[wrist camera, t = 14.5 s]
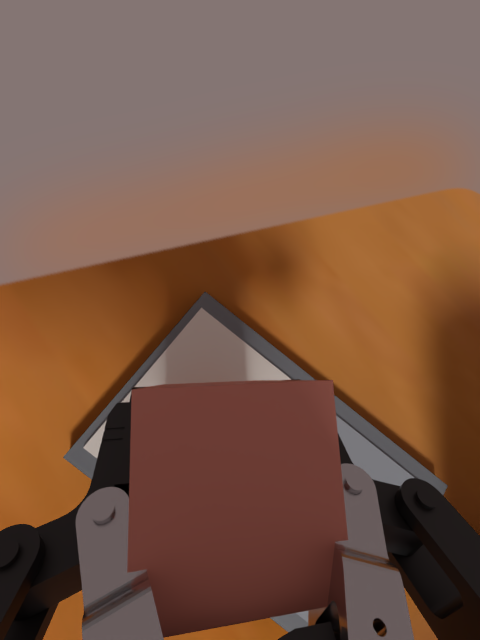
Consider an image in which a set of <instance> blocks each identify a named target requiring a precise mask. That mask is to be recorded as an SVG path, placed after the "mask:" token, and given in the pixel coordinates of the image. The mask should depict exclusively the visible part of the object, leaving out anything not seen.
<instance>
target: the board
mask: <svg viewBox="0 0 480 640" xmlns="http://www.w3.org/2000/svg"><path fill="white" fill-rule="evenodd" d="M295 379H300V380H315V379H314V378H313V377H311V376H310V375H309V374H308V373H306V372H305V371H304V370H303V369H301V368H300V367H299V366H298V365H296V364H295V363H294V362H293V361H291V360H290V359H289V358H288V357H286V356H285V355H284V354H283V353H281V352H280V351H279V350H278V349H276V348H275V347H274V346H273V345H271V344H270V343H269V342H268V341H266V340H265V339H264V338H263V337H261V336H260V335H259V334H258V333H256V332H255V331H254V330H253V329H251V328H250V327H249V326H248V325H246V324H245V323H244V322H243V321H241V320H240V319H239V318H238V317H236V316H235V315H234V314H233V313H231V312H230V311H229V310H228V309H226V308H225V307H224V306H223V305H221V304H220V303H219V302H218V301H216V300H215V299H214V298H213V297H211V296H210V295H209V294H208V293H206V292H204V293H203V295H202V296H201V297H200V298H199V299H198V300H197V302H196V303H195V304H194V305H193V306H192V307H191V309H190V310H189V311H188V312H187V313H186V314H185V316H184V317H183V318H182V319H181V320H180V321H179V323H178V324H177V325H176V326H175V327H174V328H173V330H172V331H171V332H170V333H169V334H168V335H167V337H166V338H165V339H164V340H163V341H162V342H161V344H160V345H159V346H158V347H157V348H156V349H155V351H154V352H153V353H152V354H151V355H150V356H149V358H148V359H147V360H146V361H145V362H144V363H143V365H142V366H141V367H140V368H139V369H138V370H137V372H136V373H135V374H134V375H133V376H132V377H131V379H130V380H129V381H128V382H127V383H126V384H125V386H124V387H123V388H122V389H121V390H120V392H119V393H118V394H117V395H116V396H115V397H114V399H113V400H112V401H111V402H110V403H109V404H108V406H107V407H106V408H105V409H104V410H103V411H102V413H101V414H100V415H99V416H98V417H97V418H96V420H95V421H94V422H93V423H92V424H91V425H90V427H89V428H88V429H87V430H86V431H85V432H84V434H83V435H82V436H81V437H80V438H79V439H78V441H77V442H76V443H75V444H74V445H73V446H72V448H71V449H70V450H69V451H68V452H67V453H66V455H65V456H64V457H63V458H65V459H66V460H67V461H69V462H70V463H71V464H72V465H74V466H75V467H76V468H78V469H79V470H80V471H81V472H83V473H84V474H85V475H87V476H88V477H89V478H90V479H92V477H93V473H94V469H95V465H96V461H97V457H98V453H99V449H100V445H101V443H102V437H103V433H104V431H105V425H106V421H107V417H108V414H109V413H110V411H111V410H112V409H113V407H114V406H115V405H116V403H122V402H130V396H131V391H132V388H133V387H149V386H156V385H162V384H185V383H207V382H230V381H252V380H295ZM334 399H335V410H336V420H337V430H338V434H339V436H340V438H341V440H342V442H343V444H344V446H345V448H346V451H347V453H348V455H349V457H350V459H351V461H352V463H353V464H354V465H356V466H358V467H360V468H361V469H363V470H364V471H365V472H366V473H367V474H368V475H369V476H370V477H371V478H372V479H374V480H377V481H380V482H385V483H389V484H393V485H397V486H401V485H402V484H403V482H404V481H406V480H407V479H410V478H417V479H421V480H424V481H426V482H428V483H429V484H431V485H432V486H434V487H435V488H436V489H437V490H438V491H439V492H440V493H441V494H442V495H444V493H445V490H446V488H447V485H446V484H445V483H444V482H442V481H441V480H440V479H439V478H437V477H436V476H435V475H434V474H432V473H431V472H430V471H429V470H427V469H426V468H425V467H424V466H422V465H421V464H420V463H419V462H417V461H416V460H415V459H414V458H412V457H411V456H410V455H409V454H407V453H406V452H405V451H404V450H402V449H401V448H400V447H399V446H397V445H396V444H395V443H394V442H392V441H391V440H390V439H389V438H387V437H386V436H385V435H384V434H382V433H381V432H380V431H379V430H377V429H376V428H375V427H374V426H372V425H371V424H370V423H369V422H367V421H366V420H365V419H364V418H362V417H361V416H360V415H359V414H357V413H356V412H355V411H354V410H352V409H351V408H350V407H349V406H347V405H346V404H345V403H344V402H342V401H341V400H340V399H339V398H337V397H336V396H335V395H334ZM271 619H272V620H274V621H275V622H276V623H277V624H279V625H280V626H281V627H283V628H284V629H285V630H286V631H288V632H290V631H292V630H293V629H296V628H301V627H306V626H308V611H303V612H298V613H292V614H287V615H282V616H276V617H271ZM375 632H376V631H375Z"/></svg>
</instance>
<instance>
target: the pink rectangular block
mask: <svg viewBox="0 0 480 640" xmlns="http://www.w3.org/2000/svg"><path fill="white" fill-rule="evenodd" d="M345 540H348V534H347V523H346V513H345V503H344V492H343V482H342V472H341V461H340V451H339V441H338V430H337V420H336V410H335V399H334V389H333V380H252V381H230V382H207V383H185V384H162V385H156V386H150V387H144V388H139V389H133V390H132V397H131V439H130V480H129V522H128V564H127V573H128V572H135V571H140V570H145V569H146V570H147V574H148V578H149V581H150V585H151V589H152V593H153V597H154V602H155V606H156V610H157V614H158V618H159V622H160V626H161V631H162V635H163V638H164V637H169V636H174V635H180V634H185V633H190V632H196V631H201V630H207V629H212V628H217V627H223V626H228V625H233V624H239V623H244V622H249V621H255V620H260V619H265V618H271V617H276V616H282V615H287V614H292V613H298V612H303V611H308V610H314V609H319V608H324V607H327V605H328V596H329V588H330V580H331V572H332V564H333V556H334V547H335V541H345Z"/></svg>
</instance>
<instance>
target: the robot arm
mask: <svg viewBox="0 0 480 640" xmlns="http://www.w3.org/2000/svg"><path fill="white" fill-rule="evenodd" d="M295 380H300V379H295ZM149 387H150V386H149ZM139 388H144V387H133V388H132V390H133V389H139ZM131 397H132V391H131V396H130V402H122V403H116V405H115V406H114V407H113V409H112V410H111V411H110V413H109V414H108V417H107V421H106V425H105V431H104V433H103V437H102V443H101V445H100V449H99V453H98V457H97V461H96V465H95V469H94V473H93V477H92V481H91V485H90V488H89V491H88V493H87V495H86V496H85V498H84V499H83V501H82V502H81V503H80V504H79V505H78V506H77V507H76V508H75V509H73V510H72V511H71V512H69V513H68V514H66V515H64V516H62V517H60V518H58V519H56V520H53V521H51V522H49V523H46V524H44V525H42V526H40V527H37V528H34V527H32V526H30V525H27V524H18V525H13V526H10V527H8V528H5V529H3V530H2V531H0V640H43V637H44V635H45V633H46V630H47V628H48V626H49V624H50V621H51V619H52V617H53V615H54V612H55V610H56V608H57V605H58V603H59V602H60V601H62V600H64V599H66V598H68V597H70V596H72V595H73V594H75V593H77V592H79V591H81V590H82V592H83V602H84V615H83V619H82V636H83V640H164V639H163V635H162V631H161V626H160V622H159V618H158V614H157V610H156V606H155V602H154V597H153V593H152V589H151V585H150V581H149V578H148V574H147V570H146V569H145V570H140V571H135V572H128V573H127V564H128V522H129V480H130V439H131ZM338 441H339V451H340V461H341V472H342V482H343V492H344V503H345V513H346V523H347V534H348V540H345V541H335V547H334V556H333V564H332V572H331V580H330V588H329V596H328V605H327V607H324V608H319V609H314V610H308V626H306V627H301V628H296V629H293V630H292V631H290V632H289V633H287V634H286V635H284V636H282V637H281V638H279V639H278V640H414V637H413V632H412V627H411V622H410V617H409V612H408V607H407V602H406V596H405V591H404V588H405V589H406V591H407V592H408V594H409V595H410V597H411V598H412V600H413V601H414V603H415V605H416V606H417V608H418V609H419V611H420V612H421V614H422V615H423V617H424V618H425V620H426V621H427V623H428V624H429V626H430V628H431V629H432V631H433V632H434V634H435V635H436V637H437V638H438V640H480V536H479V535H478V534H477V533H476V532H475V531H474V529H473V528H472V527H471V526H470V525H469V524H468V523H467V522H466V521H465V519H464V518H463V517H462V516H461V515H460V514H459V513H458V512H457V511H456V509H455V508H454V507H453V506H452V505H451V504H450V503H449V502H448V501H447V499H446V498H445V497H444V496H443V495H442V494H441V493H440V492H439V491H438V490H437V489H436V488H435V487H434V486H432V485H431V484H429V483H428V482H426V481H424V480H421V479H417V478H410V479H407V480H406V481H404V482H403V484H402V485H401V486H397V485H393V484H389V483H385V482H380V481H377V480H374V479H372V478H371V477H370V476H369V475H368V474H367V473H366V472H365V471H364V470H363V469H361V468H360V467H358V466H356V465H354V464H353V463H352V461H351V459H350V457H349V455H348V453H347V451H346V448H345V446H344V444H343V442H342V440H341V438H340V436H339V434H338ZM375 631H376V632H375Z"/></svg>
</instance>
